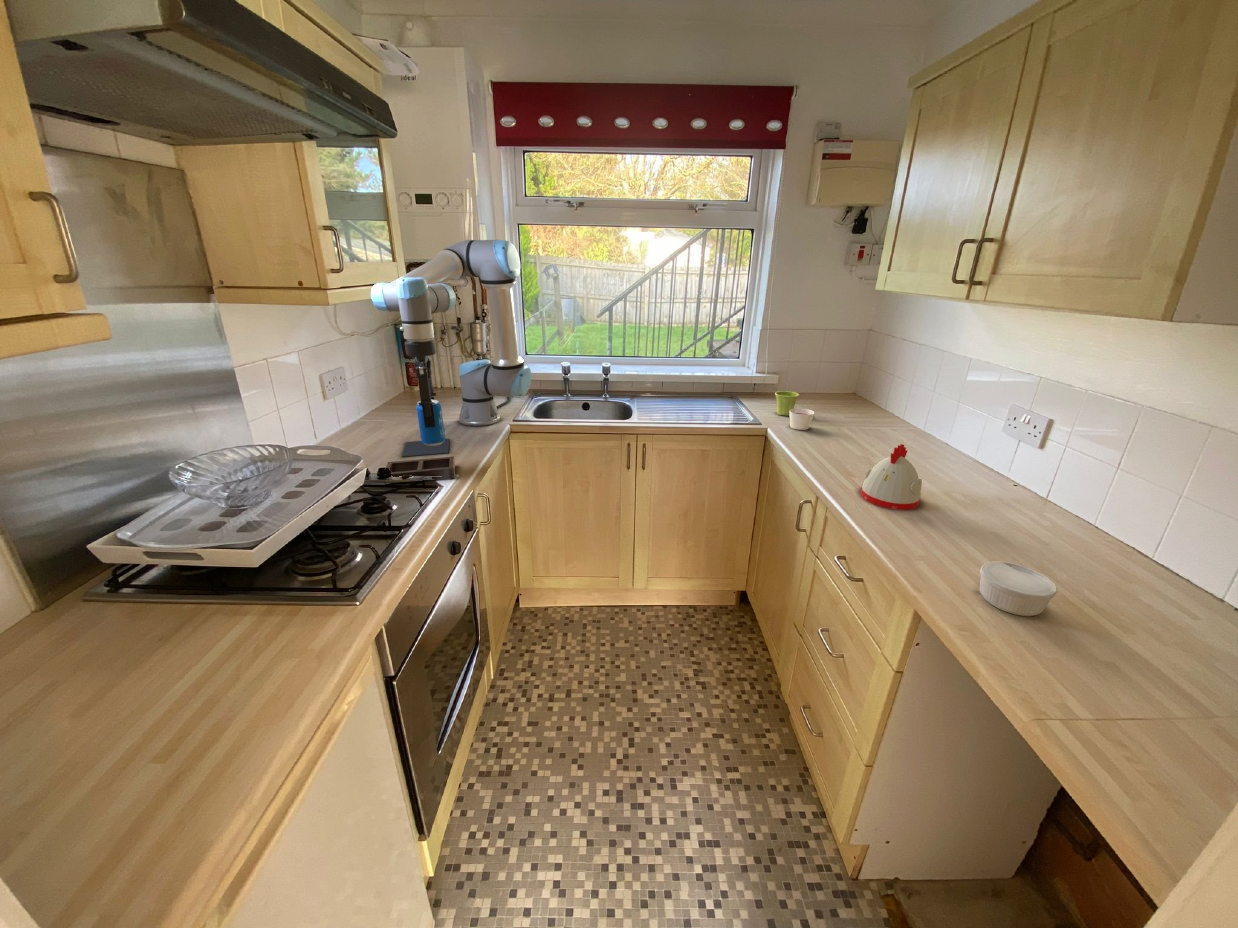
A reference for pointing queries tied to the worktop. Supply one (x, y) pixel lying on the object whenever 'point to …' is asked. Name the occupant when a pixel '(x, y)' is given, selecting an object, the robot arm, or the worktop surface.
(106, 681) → the worktop surface
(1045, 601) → the ramekin
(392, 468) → the can caddy
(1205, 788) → the worktop surface
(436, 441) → the beverage can
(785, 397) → the plant pot
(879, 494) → the kitchen timer
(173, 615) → the worktop surface
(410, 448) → the mat
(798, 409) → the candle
